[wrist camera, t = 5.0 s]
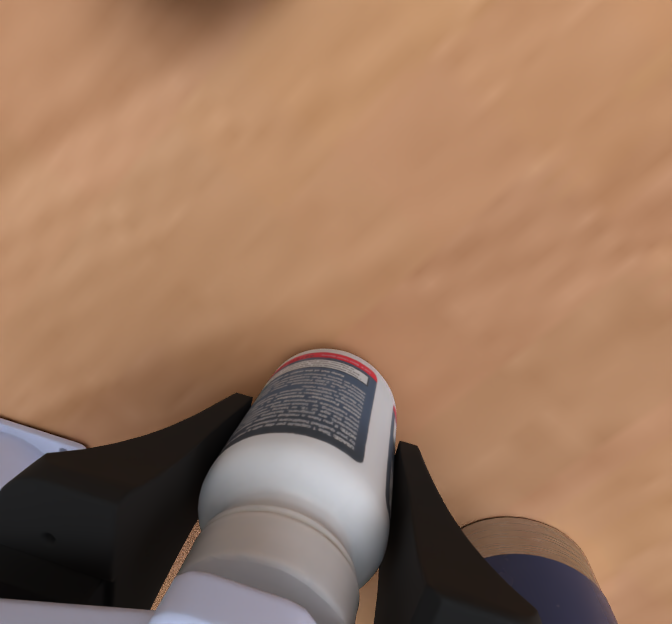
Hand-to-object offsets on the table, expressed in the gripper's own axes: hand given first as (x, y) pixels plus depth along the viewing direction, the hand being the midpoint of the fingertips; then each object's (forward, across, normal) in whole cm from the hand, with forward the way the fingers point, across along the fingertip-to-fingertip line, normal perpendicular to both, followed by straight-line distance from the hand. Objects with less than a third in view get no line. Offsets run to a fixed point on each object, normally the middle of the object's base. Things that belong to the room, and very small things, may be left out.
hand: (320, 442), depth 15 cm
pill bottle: (+3, 0, 0) cm, 3 cm away
